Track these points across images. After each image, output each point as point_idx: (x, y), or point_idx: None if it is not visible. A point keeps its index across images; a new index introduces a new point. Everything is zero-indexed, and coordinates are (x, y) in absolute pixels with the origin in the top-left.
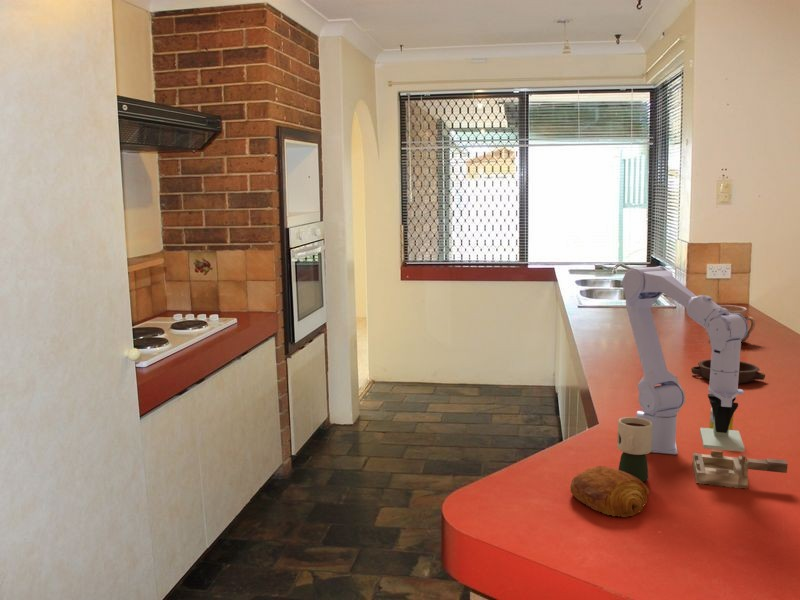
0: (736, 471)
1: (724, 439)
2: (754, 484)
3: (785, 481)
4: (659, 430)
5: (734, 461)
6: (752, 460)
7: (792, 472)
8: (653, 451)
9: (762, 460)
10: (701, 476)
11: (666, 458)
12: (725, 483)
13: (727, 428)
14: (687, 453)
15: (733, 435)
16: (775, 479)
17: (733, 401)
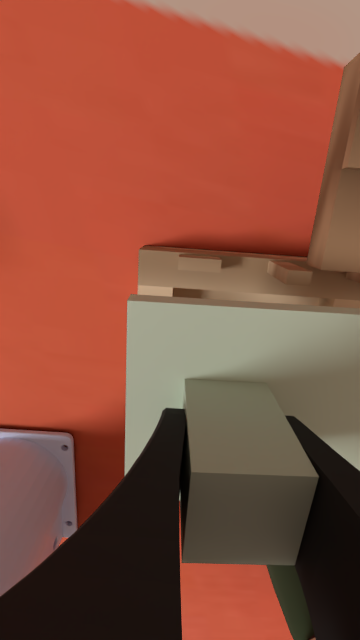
0: (296, 295)
1: (308, 408)
2: (302, 223)
3: (253, 77)
4: (37, 556)
5: (192, 284)
6: (350, 244)
7: (131, 5)
8: (74, 495)
9: (350, 189)
10: None
11: (111, 461)
12: None
13: (313, 435)
14: (39, 398)
15: (231, 348)
16: (236, 119)
17: (177, 624)
